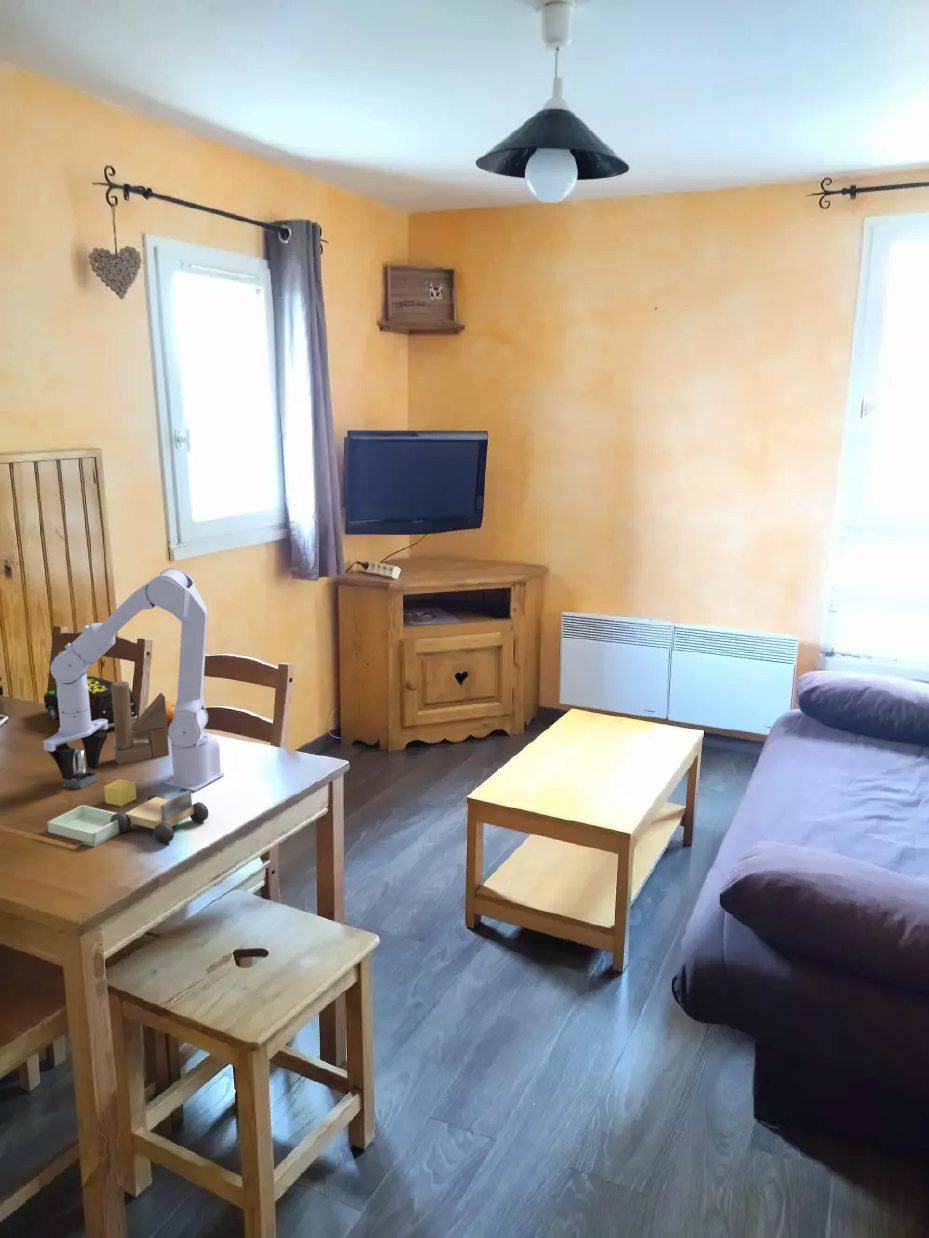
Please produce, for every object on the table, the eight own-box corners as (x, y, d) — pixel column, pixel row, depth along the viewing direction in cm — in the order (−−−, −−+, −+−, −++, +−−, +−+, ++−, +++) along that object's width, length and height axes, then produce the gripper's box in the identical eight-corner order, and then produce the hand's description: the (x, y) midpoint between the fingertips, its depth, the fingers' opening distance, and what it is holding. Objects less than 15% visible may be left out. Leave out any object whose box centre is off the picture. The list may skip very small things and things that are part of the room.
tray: (83, 816, 167) (82, 804, 166) (128, 828, 163) (127, 815, 162) (48, 834, 160) (47, 821, 159) (94, 846, 156) (93, 833, 155)
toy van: (81, 705, 231) (78, 668, 228) (140, 724, 217) (137, 685, 214) (42, 716, 222) (38, 677, 220) (100, 737, 208) (97, 696, 206)
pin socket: (82, 779, 184) (81, 769, 183) (100, 783, 182) (99, 773, 182) (62, 788, 180) (61, 777, 179) (81, 792, 178) (80, 782, 177)
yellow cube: (121, 797, 176) (119, 779, 175) (136, 801, 174) (135, 782, 173) (105, 805, 172) (104, 786, 171) (121, 809, 170) (119, 790, 170)
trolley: (152, 808, 171) (149, 777, 169) (208, 822, 165) (207, 790, 164) (111, 831, 161) (108, 798, 160) (170, 846, 156) (167, 812, 155)
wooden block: (169, 757, 196) (164, 679, 192) (118, 767, 190) (111, 687, 186) (165, 752, 199) (160, 675, 195) (115, 761, 193) (108, 682, 189)
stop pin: (81, 779, 182) (78, 747, 180) (89, 781, 181) (86, 749, 180) (73, 783, 180) (70, 751, 179) (81, 785, 179) (78, 753, 178)
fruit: (142, 720, 215) (158, 692, 214) (172, 734, 218) (188, 706, 217) (141, 732, 207) (157, 702, 207) (172, 745, 210) (189, 716, 210)
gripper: (87, 696, 185) (93, 757, 188) (29, 717, 172) (36, 782, 175) (113, 700, 182) (118, 762, 185) (56, 722, 169) (62, 788, 172)
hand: (80, 772), depth 180 cm, fingers open, 6 cm apart
